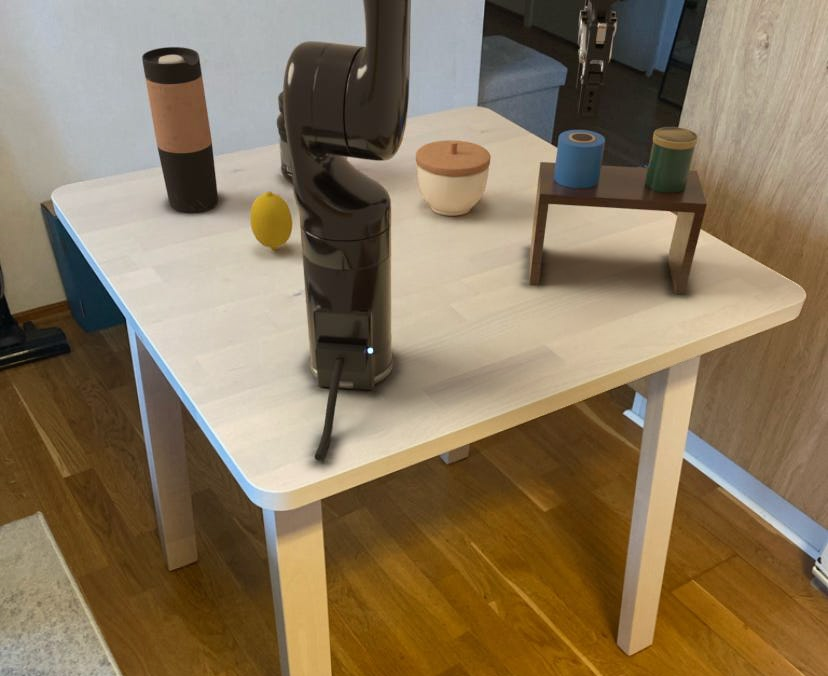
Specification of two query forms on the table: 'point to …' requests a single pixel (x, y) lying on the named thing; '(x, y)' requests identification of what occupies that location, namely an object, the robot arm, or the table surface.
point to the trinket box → (452, 175)
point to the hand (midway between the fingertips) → (585, 105)
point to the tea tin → (670, 159)
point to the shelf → (627, 193)
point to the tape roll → (579, 158)
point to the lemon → (271, 220)
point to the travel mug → (181, 127)
